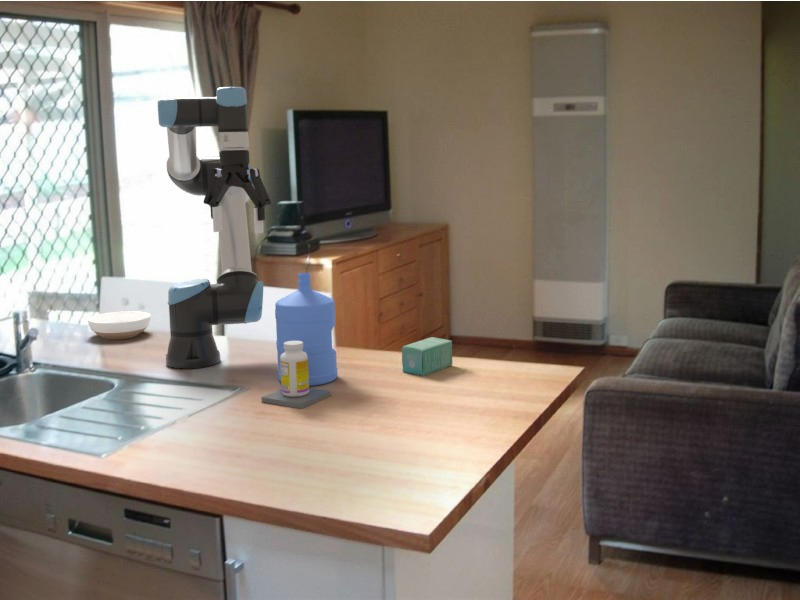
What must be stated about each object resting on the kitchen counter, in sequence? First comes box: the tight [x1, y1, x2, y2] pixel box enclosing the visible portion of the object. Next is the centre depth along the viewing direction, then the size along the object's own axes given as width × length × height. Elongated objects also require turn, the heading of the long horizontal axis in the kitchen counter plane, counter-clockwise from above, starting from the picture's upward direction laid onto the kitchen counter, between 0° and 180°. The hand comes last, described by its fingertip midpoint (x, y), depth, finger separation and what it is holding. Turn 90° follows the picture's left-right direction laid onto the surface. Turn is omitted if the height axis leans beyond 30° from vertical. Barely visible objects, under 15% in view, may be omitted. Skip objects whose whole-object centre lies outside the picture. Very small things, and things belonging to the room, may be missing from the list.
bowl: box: [88, 310, 151, 340], centre depth 295 cm, size 20×20×6 cm
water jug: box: [274, 272, 338, 387], centre depth 236 cm, size 16×16×28 cm
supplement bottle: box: [280, 341, 310, 397], centre depth 219 cm, size 7×7×13 cm
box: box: [401, 336, 453, 377], centre depth 246 cm, size 7×14×8 cm, turn 141°
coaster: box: [261, 387, 332, 409], centre depth 221 cm, size 12×12×1 cm
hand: (238, 232), depth 234 cm, fingers open, 13 cm apart
